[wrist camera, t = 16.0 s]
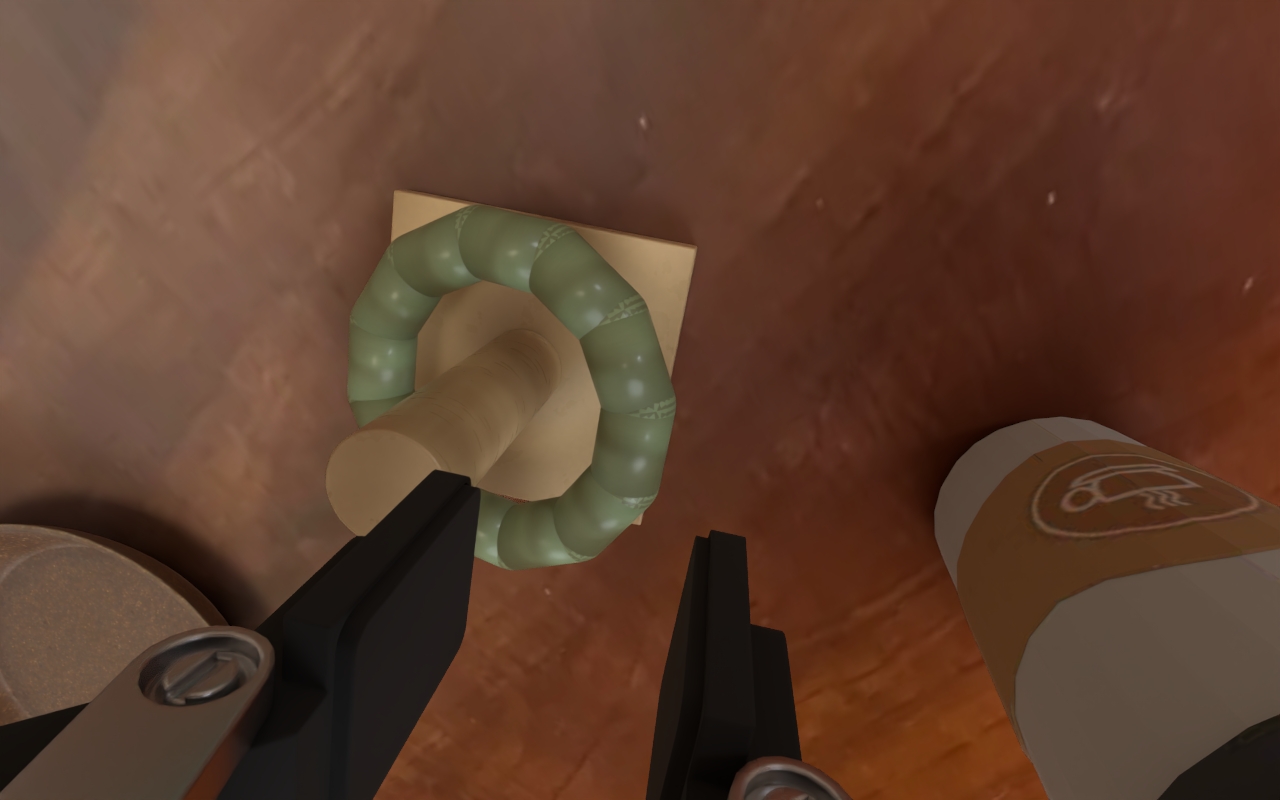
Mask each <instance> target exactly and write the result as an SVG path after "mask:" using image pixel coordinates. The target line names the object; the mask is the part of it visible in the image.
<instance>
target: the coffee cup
mask: <svg viewBox="0 0 1280 800" xmlns="http://www.w3.org/2000/svg"><path fill="white" fill-rule="evenodd" d="M934 521H935V537H936V540H937V543H938V546H939V549H940V552H941V555H942V557H943V560H944V562H945V564H946V567H947V569H948V571H949V573H950V576H951V578H952V580H953V582H954V585H955V587H956V589H957V594H958V597H959V600H960V603H961V606H962V608H963V611H964V614H965V617H966V620H967V622H968V625H969V627H970V629H971V632H972V634H973V636H974V639H975V641H976V643H977V646H978V648H979V650H980V653H981V655H982V657H983V660H984V662H985V664H986V667H987V669H988V671H989V674H990V676H991V678H992V681H993V683H994V685H995V688H996V690H997V692H998V695H999V697H1000V699H1001V702H1002V704H1003V706H1004V709H1005V711H1006V713H1007V716H1008V718H1009V720H1010V723H1011V725H1012V727H1013V730H1014V732H1015V734H1016V737H1017V739H1018V741H1019V743H1020V746H1021V748H1022V750H1023V752H1024V754H1025V755H1026V756H1027V758H1028V759H1029V760H1030V761H1031V763H1032V764H1033V765H1034V767H1035V769H1036V771H1037V773H1038V776H1039V778H1040V780H1041V782H1042V785H1043V787H1044V789H1045V791H1046V794H1047V796H1048V798H1049V800H1280V507H1278V506H1276V505H1274V504H1272V503H1270V502H1268V501H1265V500H1263V499H1261V498H1259V497H1257V496H1255V495H1253V494H1251V493H1249V492H1247V491H1245V490H1243V489H1241V488H1239V487H1236V486H1234V485H1232V484H1230V483H1228V482H1226V481H1224V480H1222V479H1220V478H1218V477H1216V476H1214V475H1212V474H1210V473H1207V472H1205V471H1203V470H1201V469H1199V468H1197V467H1195V466H1193V465H1191V464H1189V463H1186V462H1184V461H1182V460H1179V459H1177V458H1175V457H1172V456H1170V455H1168V454H1165V453H1163V452H1161V451H1158V450H1156V449H1154V448H1151V447H1147V446H1145V445H1143V444H1141V443H1139V442H1137V441H1135V440H1133V439H1131V438H1129V437H1127V436H1125V435H1123V434H1121V433H1119V432H1117V431H1114V430H1112V429H1110V428H1107V427H1105V426H1102V425H1100V424H1098V423H1095V422H1093V421H1089V420H1082V419H1075V418H1067V417H1053V418H1043V419H1033V420H1028V421H1025V422H1020V423H1017V424H1014V425H1011V426H1008V427H1005V428H1002V429H999V430H997V431H995V432H993V433H992V434H990V435H988V436H987V437H985V438H983V439H982V440H980V441H978V442H977V443H975V444H974V445H973V446H972V447H971V448H970V449H969V450H968V451H967V452H966V453H965V454H964V455H962V456H961V457H960V458H959V459H958V460H957V461H956V463H955V465H954V466H953V468H952V470H951V471H950V473H949V475H948V476H947V478H946V480H945V481H944V483H943V485H942V486H941V489H940V493H939V496H938V500H937V504H936V507H935V511H934Z"/></svg>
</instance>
